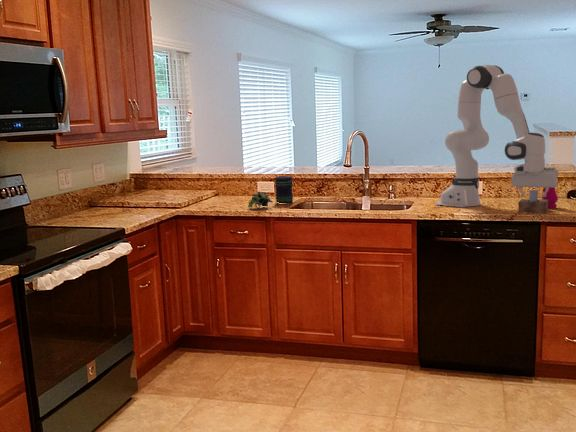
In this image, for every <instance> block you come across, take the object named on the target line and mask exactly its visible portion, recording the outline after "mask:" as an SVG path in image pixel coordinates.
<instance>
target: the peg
mask: <svg viewBox="0 0 576 432" xmlns="http://www.w3.org/2000/svg"><path fill="white" fill-rule="evenodd" d="M538 193H539V190H538V189H530V190H529V193H528V194H529V196H528V197H529V198H528V199H529V202H537V200H538V198H539V197H538V195H539V194H538Z"/></svg>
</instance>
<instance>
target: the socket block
mask: <svg viewBox="0 0 576 432" xmlns="http://www.w3.org/2000/svg"><path fill="white" fill-rule="evenodd" d="M517 204H518V208H517V209H518V211H517V212H518V213H522V212H527V213H526V214H547V212H548V211H549V209H548V200H542V199H538V200H537V202H529V198H521V199H520V200H519V201H518V203H517Z"/></svg>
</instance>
